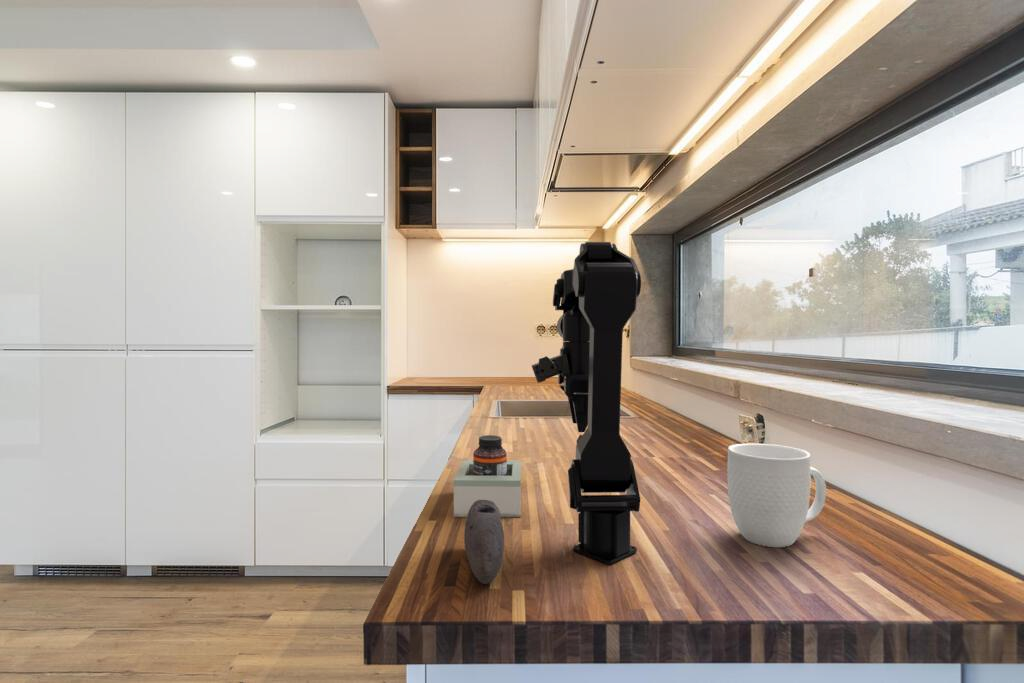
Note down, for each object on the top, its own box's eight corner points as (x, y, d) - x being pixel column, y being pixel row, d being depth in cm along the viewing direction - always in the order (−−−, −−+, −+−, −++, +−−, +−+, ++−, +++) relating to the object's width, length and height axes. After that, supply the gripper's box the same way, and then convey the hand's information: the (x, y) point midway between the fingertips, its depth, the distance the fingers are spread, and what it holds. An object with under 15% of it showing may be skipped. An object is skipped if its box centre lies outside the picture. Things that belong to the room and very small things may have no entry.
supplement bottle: (466, 503, 95) (466, 438, 95) (484, 494, 100) (483, 432, 100) (496, 508, 92) (496, 441, 92) (512, 498, 97) (512, 435, 97)
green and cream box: (520, 492, 103) (520, 460, 103) (520, 517, 89) (520, 480, 89) (462, 491, 103) (462, 460, 103) (453, 516, 89) (453, 480, 89)
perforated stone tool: (506, 595, 63) (506, 535, 62) (460, 596, 62) (460, 536, 62) (502, 545, 78) (502, 496, 77) (465, 545, 77) (465, 497, 77)
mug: (796, 522, 87) (797, 440, 87) (852, 548, 76) (853, 455, 76) (712, 528, 84) (712, 444, 84) (758, 557, 73) (759, 460, 73)
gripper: (532, 340, 108) (532, 419, 108) (535, 342, 89) (535, 437, 90) (588, 340, 108) (588, 419, 108) (603, 342, 89) (603, 437, 89)
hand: (578, 427), depth 99 cm, fingers open, 9 cm apart
